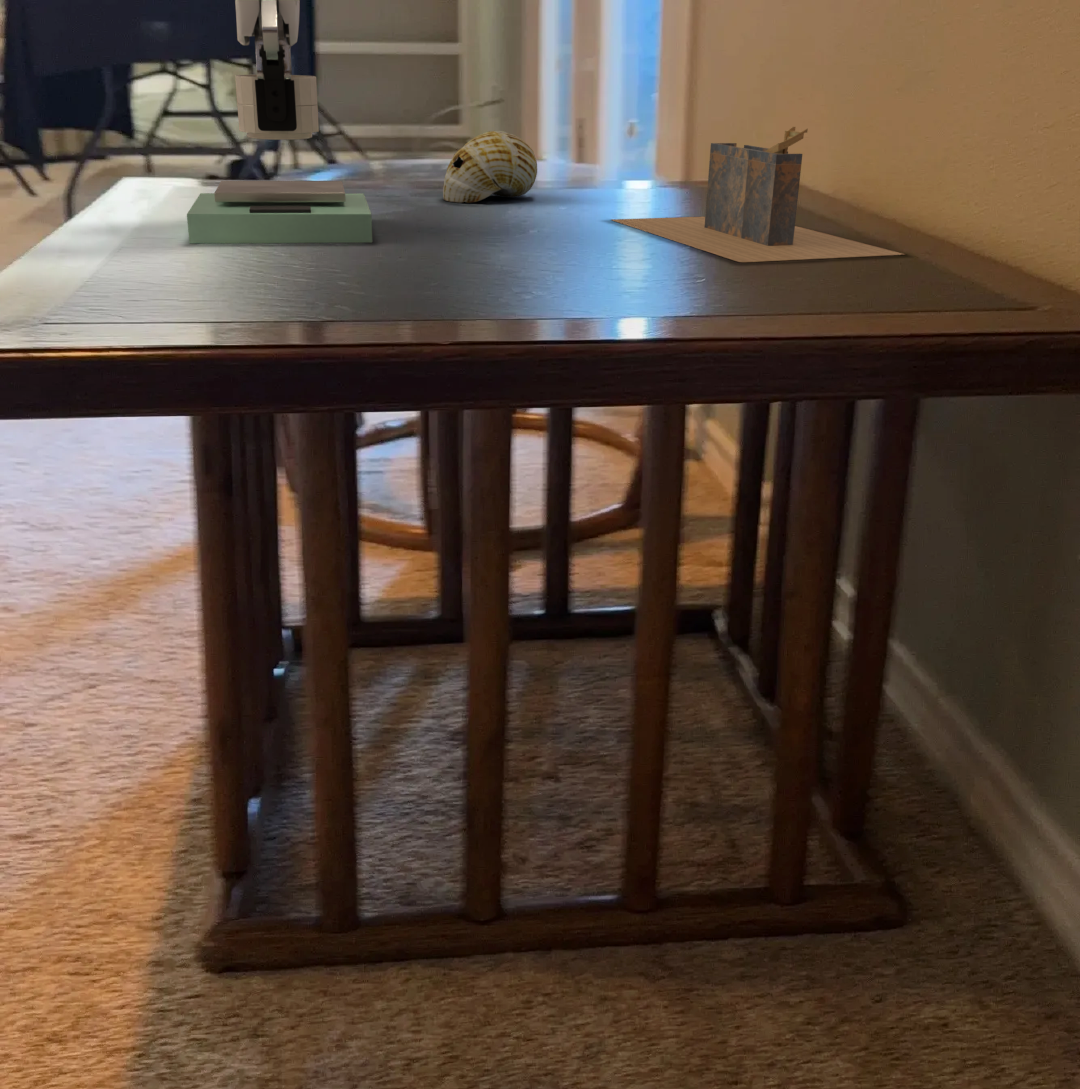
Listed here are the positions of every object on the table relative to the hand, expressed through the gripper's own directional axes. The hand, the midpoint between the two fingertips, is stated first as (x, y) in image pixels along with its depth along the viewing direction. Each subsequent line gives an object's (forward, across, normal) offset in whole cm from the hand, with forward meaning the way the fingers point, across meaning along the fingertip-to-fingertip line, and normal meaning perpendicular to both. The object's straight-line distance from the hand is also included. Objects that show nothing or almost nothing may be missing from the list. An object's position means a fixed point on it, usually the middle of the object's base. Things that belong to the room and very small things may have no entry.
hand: (278, 125), depth 103 cm
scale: (+9, +2, 0) cm, 9 cm away
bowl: (+1, 0, 0) cm, 1 cm away
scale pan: (+6, 0, 0) cm, 6 cm away
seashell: (+9, -21, +22) cm, 32 cm away
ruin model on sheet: (+9, +6, +42) cm, 43 cm away
